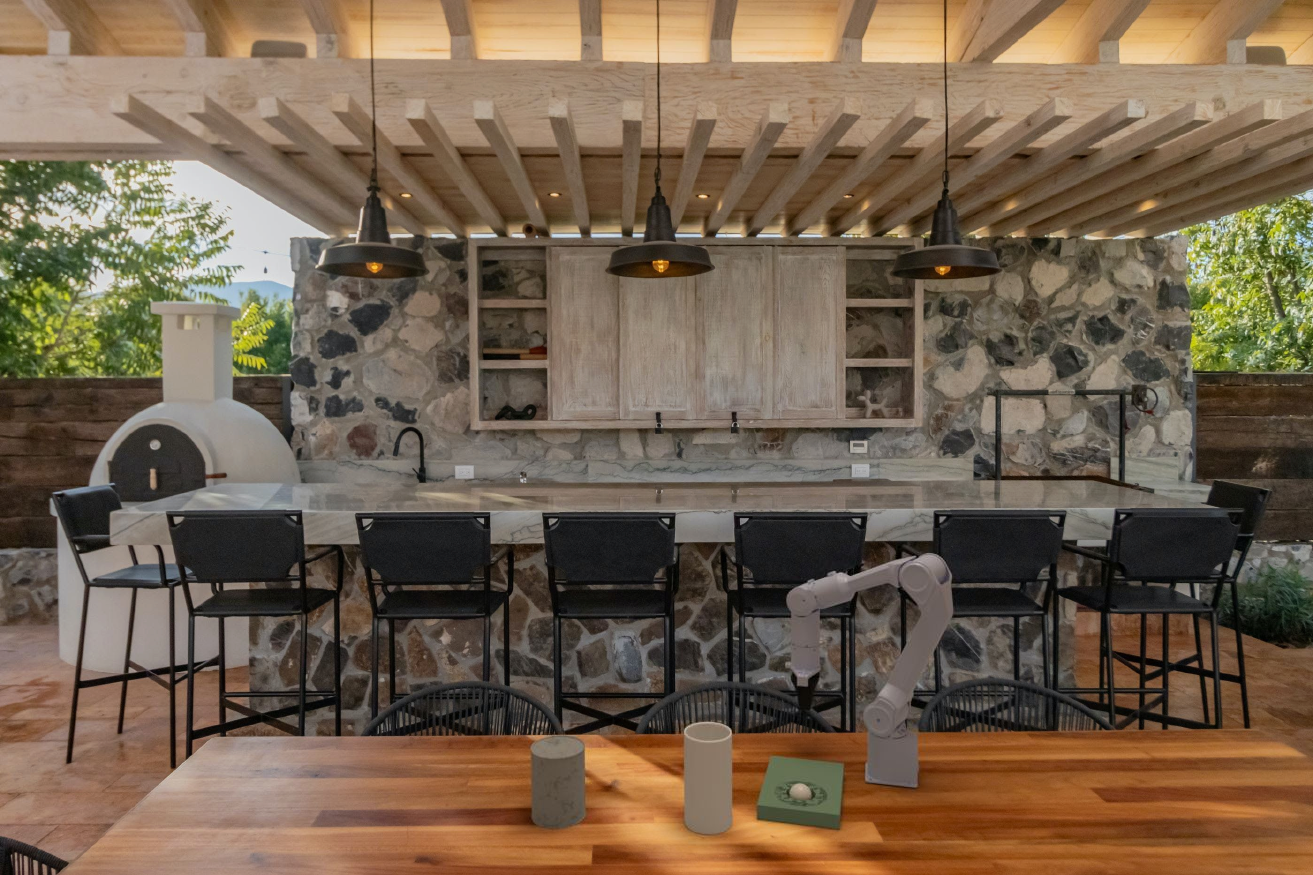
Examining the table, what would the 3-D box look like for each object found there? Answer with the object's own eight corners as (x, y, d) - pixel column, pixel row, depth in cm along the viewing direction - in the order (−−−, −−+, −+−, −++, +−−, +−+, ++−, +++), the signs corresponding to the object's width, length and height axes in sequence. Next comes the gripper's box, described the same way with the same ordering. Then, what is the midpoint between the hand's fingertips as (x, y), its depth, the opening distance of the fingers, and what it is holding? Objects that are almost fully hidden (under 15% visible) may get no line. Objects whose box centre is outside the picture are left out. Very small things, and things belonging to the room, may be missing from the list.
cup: (729, 836, 137) (729, 742, 136) (680, 831, 139) (680, 739, 138) (734, 812, 145) (734, 723, 144) (688, 807, 147) (688, 719, 146)
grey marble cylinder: (594, 805, 147) (593, 738, 147) (571, 832, 138) (571, 761, 138) (546, 797, 151) (545, 732, 150) (521, 823, 142) (520, 753, 141)
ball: (809, 808, 144) (810, 811, 147) (813, 784, 145) (813, 788, 149) (786, 802, 145) (787, 805, 148) (790, 779, 147) (791, 782, 150)
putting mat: (771, 767, 162) (771, 755, 162) (843, 775, 158) (843, 763, 158) (756, 818, 143) (756, 804, 142) (839, 829, 139) (839, 814, 139)
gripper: (789, 631, 175) (789, 694, 176) (781, 652, 161) (781, 720, 162) (822, 634, 173) (822, 697, 174) (818, 655, 159) (818, 724, 160)
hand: (805, 708), depth 168 cm, fingers closed
